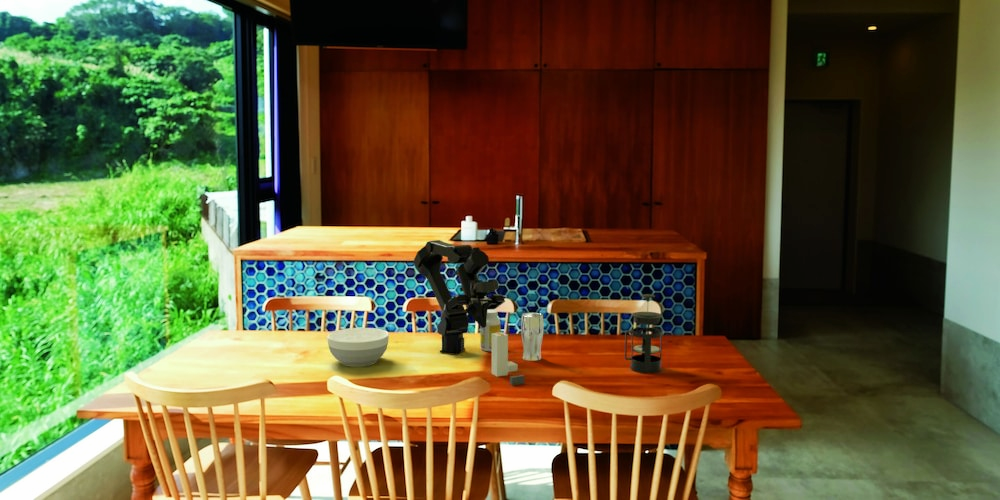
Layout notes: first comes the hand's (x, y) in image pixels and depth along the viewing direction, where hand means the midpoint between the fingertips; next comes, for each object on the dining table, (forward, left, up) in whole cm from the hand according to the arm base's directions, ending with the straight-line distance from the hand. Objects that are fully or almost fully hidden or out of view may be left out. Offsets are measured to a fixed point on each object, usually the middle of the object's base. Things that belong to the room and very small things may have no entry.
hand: (484, 327), depth 253 cm
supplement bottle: (-7, +20, -13) cm, 25 cm away
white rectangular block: (+9, -8, -11) cm, 17 cm away
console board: (+10, -9, -13) cm, 19 cm away
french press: (+45, +19, -13) cm, 50 cm away
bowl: (-38, -11, -13) cm, 42 cm away
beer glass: (+11, +12, -13) cm, 21 cm away
